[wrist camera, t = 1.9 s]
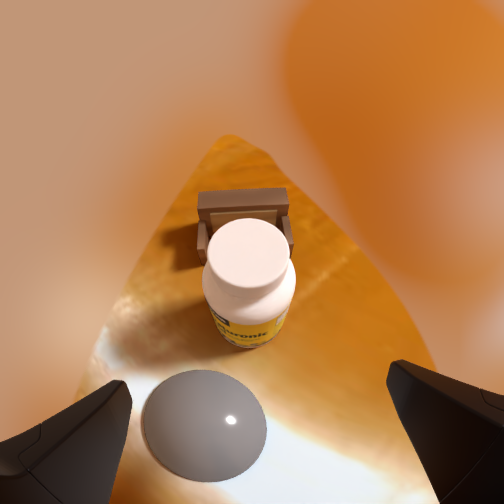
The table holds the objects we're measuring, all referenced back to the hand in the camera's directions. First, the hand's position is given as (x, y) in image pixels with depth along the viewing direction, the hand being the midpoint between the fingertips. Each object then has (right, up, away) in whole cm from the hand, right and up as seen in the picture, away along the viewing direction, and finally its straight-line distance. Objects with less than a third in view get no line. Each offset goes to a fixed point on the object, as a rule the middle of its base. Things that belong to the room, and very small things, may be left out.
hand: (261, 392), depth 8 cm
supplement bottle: (-1, -1, +14) cm, 14 cm away
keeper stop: (-1, +6, +18) cm, 18 cm away
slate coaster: (-4, -8, +9) cm, 13 cm away
